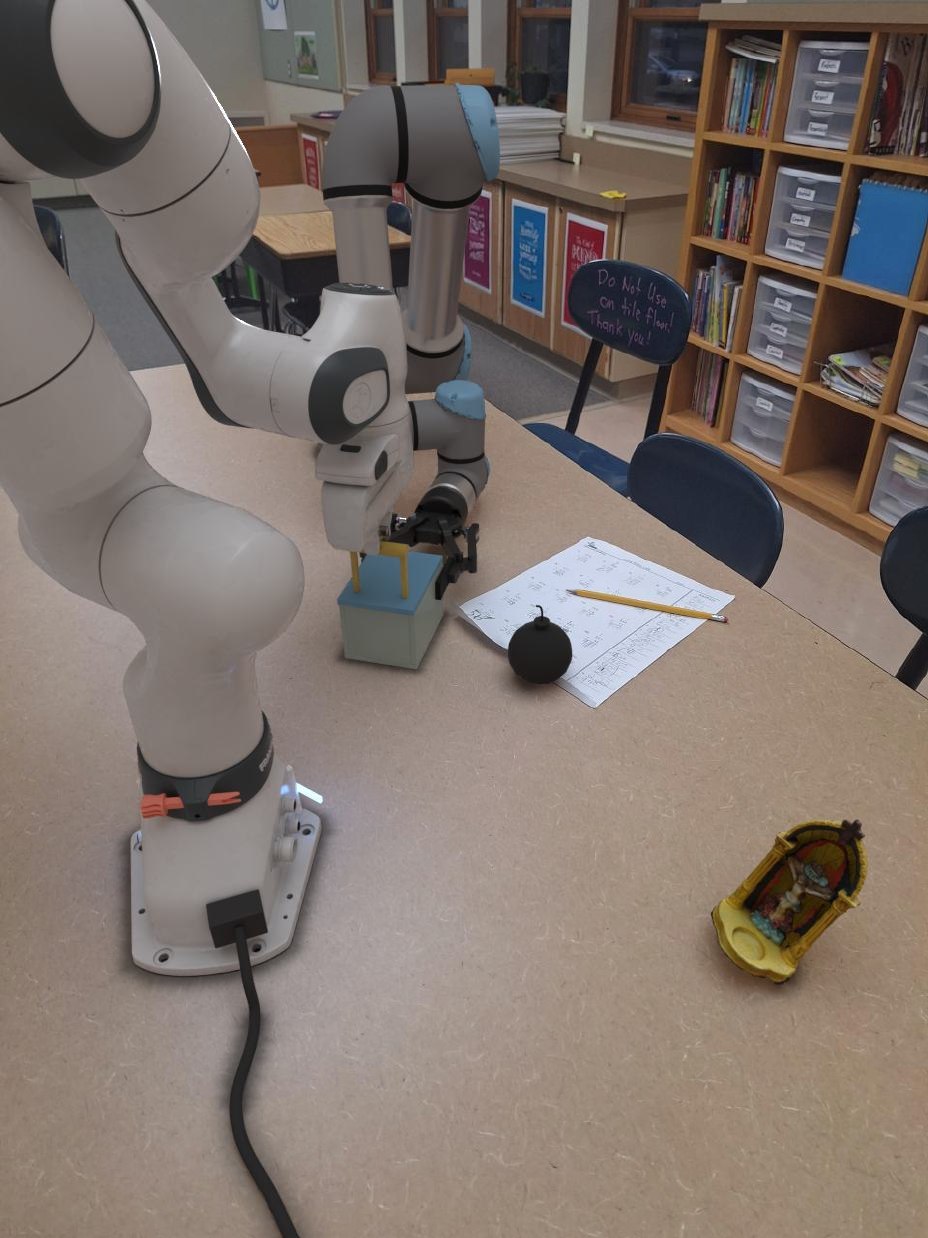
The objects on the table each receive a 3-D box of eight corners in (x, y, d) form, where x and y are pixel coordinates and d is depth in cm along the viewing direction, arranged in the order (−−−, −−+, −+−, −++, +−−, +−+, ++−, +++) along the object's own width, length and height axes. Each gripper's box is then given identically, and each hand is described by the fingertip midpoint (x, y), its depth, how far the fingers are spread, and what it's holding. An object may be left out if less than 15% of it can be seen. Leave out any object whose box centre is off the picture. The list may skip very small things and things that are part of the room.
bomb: (524, 651, 112) (528, 573, 105) (580, 670, 109) (588, 591, 102) (495, 684, 106) (497, 604, 99) (553, 706, 103) (559, 625, 96)
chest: (416, 669, 109) (414, 614, 104) (344, 658, 111) (338, 603, 106) (443, 614, 119) (442, 560, 114) (377, 604, 121) (373, 551, 116)
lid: (413, 616, 104) (410, 557, 99) (337, 604, 106) (331, 546, 101) (442, 560, 114) (441, 505, 109) (373, 551, 116) (369, 496, 111)
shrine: (791, 892, 81) (830, 781, 73) (851, 966, 75) (901, 853, 66) (686, 929, 78) (714, 817, 69) (739, 1009, 72) (776, 896, 63)
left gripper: (374, 399, 103) (381, 502, 111) (307, 472, 87) (320, 587, 95) (424, 404, 102) (428, 508, 110) (366, 479, 86) (374, 595, 94)
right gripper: (516, 538, 131) (481, 621, 113) (377, 520, 136) (323, 597, 118) (518, 494, 127) (482, 573, 109) (374, 477, 131) (317, 550, 114)
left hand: (377, 545), depth 102 cm, fingers closed on lid, 2 cm apart
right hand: (399, 585), depth 113 cm, fingers closed on chest, 10 cm apart
